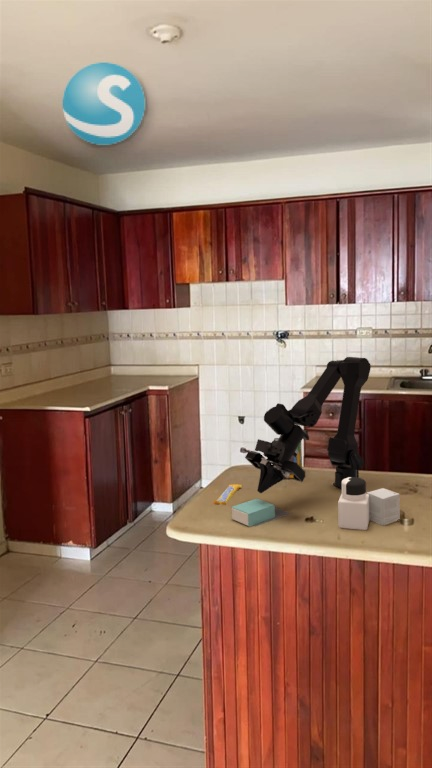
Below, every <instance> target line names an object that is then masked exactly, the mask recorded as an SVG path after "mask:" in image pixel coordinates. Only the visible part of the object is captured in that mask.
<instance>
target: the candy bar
mask: <svg viewBox="0 0 432 768" xmlns="http://www.w3.org/2000/svg"><path fill="white" fill-rule="evenodd" d="M241 488H242V484H237V483H236V484H234V483H233V484H230V483H229V484H228V486H227V487H226V489H225V490H224V491H223V492H222V494H220V496H219V497H218V498H217V499H214V500H213V504H214V505H227V503H228V502H229V500H230V499H231V498H232V497H233V496H234V495H235V493H236V492H238V491H239V489H241Z"/></svg>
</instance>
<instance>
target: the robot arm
mask: <svg viewBox="0 0 432 768" xmlns="http://www.w3.org/2000/svg"><path fill="white" fill-rule="evenodd" d="M371 368H372V366H371V363H370V361H369V360H368V358H366V357H357V356H354V357H353V356H346V357H345V358H344V359H337V360H331V361H328V362H327V364H326V367H325V369H324V371H323V372H322V373H321V375H320V376H319V378H318V379H317V381H315V382H316V383H315V384H314V385H313V387H312V388H311V389H310V391H309V392H308V394H307V395H306V396H305V397H303V398H301V399H299V400H298V401H297V402H296V403H295V404H294V405H293V406H292V408H290V409H289V410H288V409H287V408H286V406H285V405H284V403H277V404H276V405H275V406H273V407H271V408H270V409H268V410H267V411H266V412H265V413H264V416H263V421H264V422H265V424H266V425H267V426H268V427H270V429H271V430H272V431H273V432H274V433H275V434H276V435H279V436H278V438H279V439H278V440H277V441H276V440H274V439H273V440H272V441H266V440H263V439H258V438H257V441H256V446H255V448H254V450H249V451H247V453H246V455H245V456H244V458H245V460H246V461H248V463H250V464H251V466H253V467H254V468H255V469H257V470H259V471H260V473H259V475H260V476H259V480H258V485H257V490H256V491H257V492H258V493H259V494H262V493H264V492H265V491H267V490H269V489H271V488H272V487H273V486H274V485H276V484H279V482H280V483H281V482H282V481H284V480H285V481H286V480H287V478H286V477H285V476H286V474H287V473H291V474H294V475H293V477H294V478H293V479H294V481H296V482H297V481H298V482H300V483H303V482H304V480H305V478H306V471H305V470H304V468H303V467H302V468H301V467H300V466H299V465H298V464H297V463H295V462H291V461H290V460H291V458H292V457H296V456H297V454H296V453H295V451H296V449H297V448H298V446H299V444H300V442H301V443H302V441H303V440H305V441H309V440H310V435H309V431H308V430H307V429H303V427H306V428H307V427H308V428H312V427H313V428H314V427H315V426H316V425H317V423H318V422H319V419H320V417H321V415H322V410H323V405H324V403H325V401H326V400H327V399H328V397H329V395H330V394H331V392H332V391H333V390H334V388H335V387H336V385H337V384H338V382H339V381H340V379H341V381H342V383H343V393H342V397H341V398H342V399H341V405H340V413H339V419H338V427H337V432H336V434H335V435H334V436H333V437H329V439H328V445H327V446H328V447H327V449H326V451H327V457H329V460H330V464H331V466H336V467H335V473H334V482H333V483H332V486H334V487H337V488H340V489H342V480H343V479H345V478H348V477H358V478H360V476H359V474H360V473H359V471H360V470H361V469H362V468H364V463H365V460H364V458H362V456H361V455H360V454H359V453H358V447H359V445H358V442H357V440H356V437H355V430H356V425H357V418H358V411H359V406H360V405H359V404H360V398H361V391H362V388H363V387H364V385H365V384H366V383H367V382H368V380H369V377H370V373H371V370H372V369H371ZM262 453H263V454H262Z"/></svg>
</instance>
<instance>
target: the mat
mask: <svg viewBox="0 0 432 768" xmlns="http://www.w3.org/2000/svg"><path fill="white" fill-rule="evenodd" d="M291 514H292V512H289V511H287V510H284V509H281V508H279V507H276V506H275V517H274V518H272V519H269V520H266V521H264V522H261V523H258V524H255V525H253V527H258V526H262V525H263V524H266V523H269V522H272V521H275V520H277V519H280V518H283V517H285V516H288V515H291Z"/></svg>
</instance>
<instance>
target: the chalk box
mask: <svg viewBox="0 0 432 768" xmlns="http://www.w3.org/2000/svg"><path fill="white" fill-rule="evenodd" d="M278 439H279V437H274V439H273V441H274V440H276V441H277V440H278ZM295 453H296V454H297V456H296V457H292V458H291V460H290V461H291V462H295V463H297V464H298V465H299V466H300V467H301V468H302V469H303V456H302V454H303V451H302V441H301V442H300V444H299V446H298V448H297V449H296V451H295ZM293 475H294V474H291V473H287V474H286V476H285V477H286V479H294V477H293Z"/></svg>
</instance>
